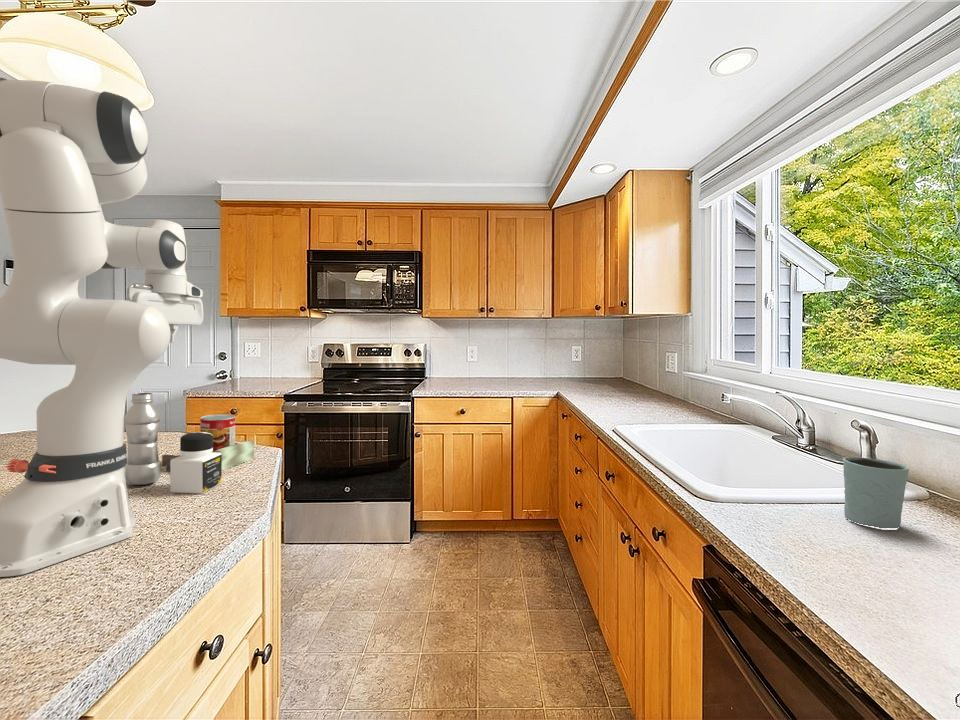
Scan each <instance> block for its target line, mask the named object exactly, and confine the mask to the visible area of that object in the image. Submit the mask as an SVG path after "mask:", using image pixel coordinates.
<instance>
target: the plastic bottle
mask: <svg viewBox="0 0 960 720" xmlns="http://www.w3.org/2000/svg"><path fill="white" fill-rule="evenodd" d="M153 396H154V395H153V393H152V392H135V393H132V395H131V404H132V405H131V407H130V408H128V410H127V411H126V413H124V427H125V432H126V433H125V434H126V441H127V464H126V465H125V480H126V483H127V484H129V485H132V486H143V485H148V484H154V483H156V482H158V481H159V479H160V478H161V473H162V466H161V465H162V464H161V463H160V457H159V450H158V441H159V440H158V439H159V428H160V421H161V415H160V413H159V411H158V410H157V408H156V406H154V405H153V404H152V403H153V402H154V399H153V398H154V397H153Z"/></svg>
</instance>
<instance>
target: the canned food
mask: <svg viewBox="0 0 960 720" xmlns="http://www.w3.org/2000/svg"><path fill="white" fill-rule="evenodd" d="M199 419H200V420H199V421H200V422H199V423H200V425H199V427H200V428H199V429H200V431H199V432H207V433H210V434H212V435H213V451H212V452H215V450H218V449H222V448H225V447H228V446H232V445H235V443H236V416H235V415H234V414H226V413H224V414H223V413H221V414H209V415H204V416H200V418H199Z"/></svg>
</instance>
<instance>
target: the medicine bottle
mask: <svg viewBox="0 0 960 720" xmlns="http://www.w3.org/2000/svg"><path fill="white" fill-rule="evenodd" d="M179 441H180V446H179V448H180V449H179V450H180V451H179V452H180V453H179V455H181V456H179V457H176V458H174V459H171V460H170V471H169V476H170V477H169V478H170V479H169V481H170V485H169V487H170V493H173V494H201V495H202V494H203V495H204V494H206V493H207V492H209V491H211V490H213V489H215V488H216V487H218V486H220V485H221V484H222V483H223V481H222V478H223V477H222V473H223V471H222V454H221V453H215V452H212V451H213V435H212V434H210V433H207V432H200V431H195V432H189V433H186V434H185V433H184V435H182V436H181V437H180V438H179Z"/></svg>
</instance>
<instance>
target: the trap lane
mask: <svg viewBox="0 0 960 720" xmlns="http://www.w3.org/2000/svg"><path fill="white" fill-rule="evenodd" d="M254 451H255V440H250V439H249V440H246V441H242V442H235V445H232V446H228V447H225V448H222V449H218V450H215V453H221V454H222V470H223V471H225V470H227V468H228V469H231V468H233V466H234V467H236V466H239V465H242V464H244V463H243V462H245V463H247V462H249V460H250V461H252V460H251V459H253V460H254V459H255V455H254V454H255V452H254ZM181 455H182V454H178V455H173V454H163V455H161V465H162V466H165V465H167V466H166V471H167V472H170V460H171V459H174V458H176V457H179V456H181ZM246 461H247V462H246ZM241 463H242V464H241ZM238 464H239V465H238ZM235 465H236V466H235ZM230 467H231V468H230Z"/></svg>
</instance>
